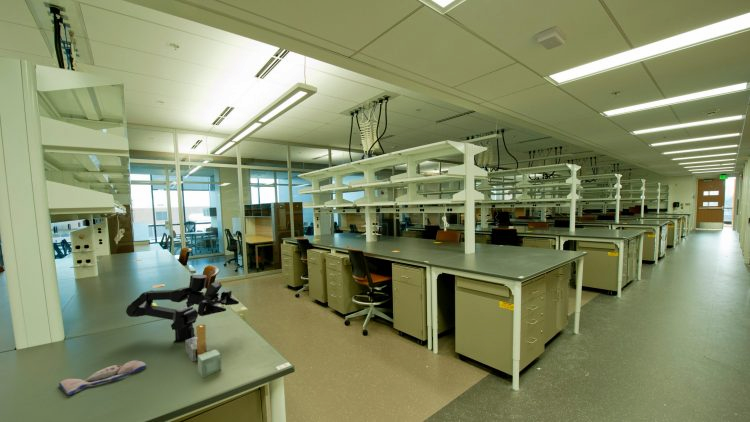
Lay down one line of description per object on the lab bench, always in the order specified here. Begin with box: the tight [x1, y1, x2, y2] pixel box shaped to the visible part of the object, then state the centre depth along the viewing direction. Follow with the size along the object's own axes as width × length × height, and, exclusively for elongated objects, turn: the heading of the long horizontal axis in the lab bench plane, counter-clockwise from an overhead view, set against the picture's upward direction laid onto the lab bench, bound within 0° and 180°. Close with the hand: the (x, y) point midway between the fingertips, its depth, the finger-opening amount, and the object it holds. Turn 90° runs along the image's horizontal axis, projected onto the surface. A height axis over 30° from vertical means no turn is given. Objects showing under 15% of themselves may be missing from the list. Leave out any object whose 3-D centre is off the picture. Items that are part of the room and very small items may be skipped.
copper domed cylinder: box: [195, 324, 207, 361], centre depth 112 cm, size 20×3×13 cm, turn 46°
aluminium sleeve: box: [184, 336, 208, 362], centre depth 116 cm, size 12×5×5 cm, turn 46°
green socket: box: [197, 349, 222, 378], centre depth 103 cm, size 6×6×6 cm
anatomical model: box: [58, 359, 147, 396], centre depth 101 cm, size 20×3×15 cm
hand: (232, 306), depth 127 cm, fingers open, 9 cm apart
